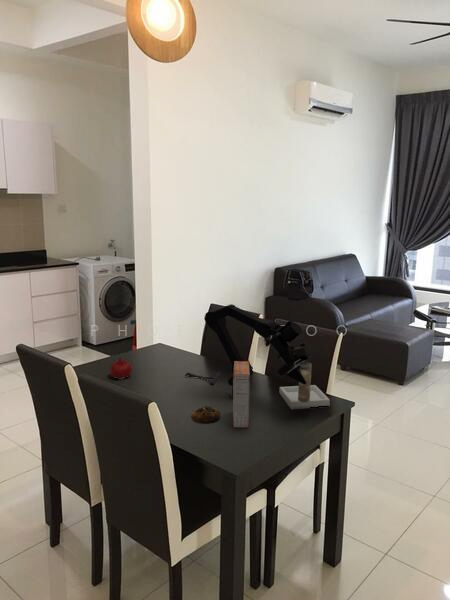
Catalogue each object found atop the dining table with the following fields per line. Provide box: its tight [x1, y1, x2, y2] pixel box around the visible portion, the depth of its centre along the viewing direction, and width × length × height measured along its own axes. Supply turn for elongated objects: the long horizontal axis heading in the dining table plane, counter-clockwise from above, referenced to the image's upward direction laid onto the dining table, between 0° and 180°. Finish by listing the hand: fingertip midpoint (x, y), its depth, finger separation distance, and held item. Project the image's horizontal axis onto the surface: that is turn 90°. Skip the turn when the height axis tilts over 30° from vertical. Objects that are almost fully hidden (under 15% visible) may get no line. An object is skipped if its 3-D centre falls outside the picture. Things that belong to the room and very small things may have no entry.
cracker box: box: [232, 360, 251, 429], centre depth 187 cm, size 14×6×21 cm, turn 178°
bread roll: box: [191, 405, 221, 424], centre depth 191 cm, size 11×11×5 cm
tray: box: [278, 384, 331, 410], centre depth 209 cm, size 16×16×3 cm
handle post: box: [298, 361, 313, 402], centre depth 193 cm, size 4×4×14 cm
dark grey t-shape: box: [184, 371, 221, 386], centre depth 231 cm, size 14×15×3 cm
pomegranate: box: [109, 357, 133, 378], centre depth 230 cm, size 10×10×9 cm
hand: (308, 382), depth 192 cm, fingers closed on handle post, 4 cm apart
